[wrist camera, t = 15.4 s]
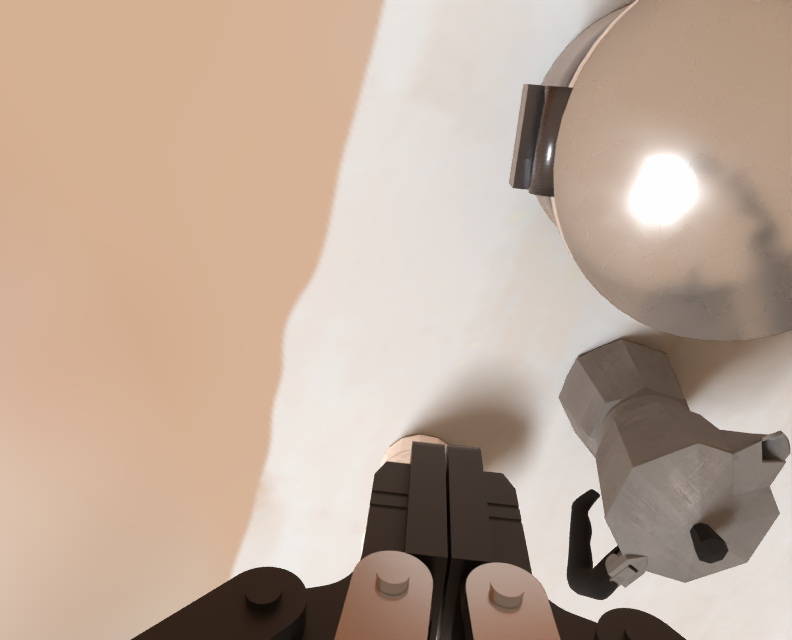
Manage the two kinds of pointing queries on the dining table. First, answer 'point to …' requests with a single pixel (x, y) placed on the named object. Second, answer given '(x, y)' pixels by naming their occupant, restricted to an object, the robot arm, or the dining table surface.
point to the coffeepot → (662, 475)
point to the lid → (680, 166)
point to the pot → (533, 103)
